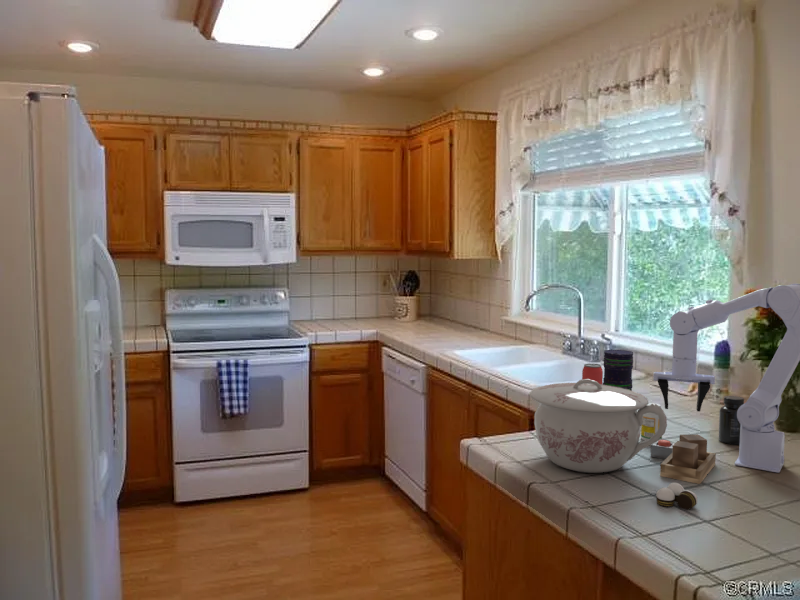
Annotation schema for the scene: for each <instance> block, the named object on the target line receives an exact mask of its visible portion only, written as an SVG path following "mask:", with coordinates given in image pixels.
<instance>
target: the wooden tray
mask: <svg viewBox="0 0 800 600" xmlns="http://www.w3.org/2000/svg"><path fill="white" fill-rule="evenodd" d="M672 454H673V453H671V454H670V455H669V456H668V457H667V458H666V459H663V461H662V462H660V469H659V470H660V471H659V473H660V474H659V476H660V477H662V478H668V479H674V480H678V481H683V482H688V483H692V484H698V485H700V484H702V482H703V481H704V480H705V478H706V477H707V476H708V475H709V473H710V472H711V471H712V469H713V468H714V467H715V466H716V460H717V459H716V458H717V457H716V454H717V453H715V452H711V451H707V456H706V459H705V460H704V461H702V460H698V467H697V470H696V469H691V468H686V467H681V466H675V465H672ZM707 474H708V475H707Z"/></svg>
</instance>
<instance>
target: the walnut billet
mask: <svg viewBox="0 0 800 600" xmlns="http://www.w3.org/2000/svg"><path fill="white" fill-rule="evenodd" d="M674 443H675V444H674V445H673V454H672V465H675V466H681V467H686V468H691V469H696V470H697V467H698V444H694V443H688V442H682V441H679V440H677V441H676V442H674Z"/></svg>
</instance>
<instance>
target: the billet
mask: <svg viewBox="0 0 800 600" xmlns="http://www.w3.org/2000/svg"><path fill="white" fill-rule="evenodd" d="M678 441H682V442H688V443H694V444H698V460H702V461H704V460H705V459H706V456H707V452H708V439H706V438H705V437H703V436H701V435H700V434H697V433H696V434H679V440H678Z"/></svg>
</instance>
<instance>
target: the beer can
mask: <svg viewBox="0 0 800 600" xmlns="http://www.w3.org/2000/svg"><path fill="white" fill-rule="evenodd" d="M581 372H582V373H581V380H582V379H590V380H594V381H596V382H598V383H599V384H603V378H604V370H603V369H602V365H601V364H599V363H593V362H592V363H585V364H583V367H582V371H581Z"/></svg>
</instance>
